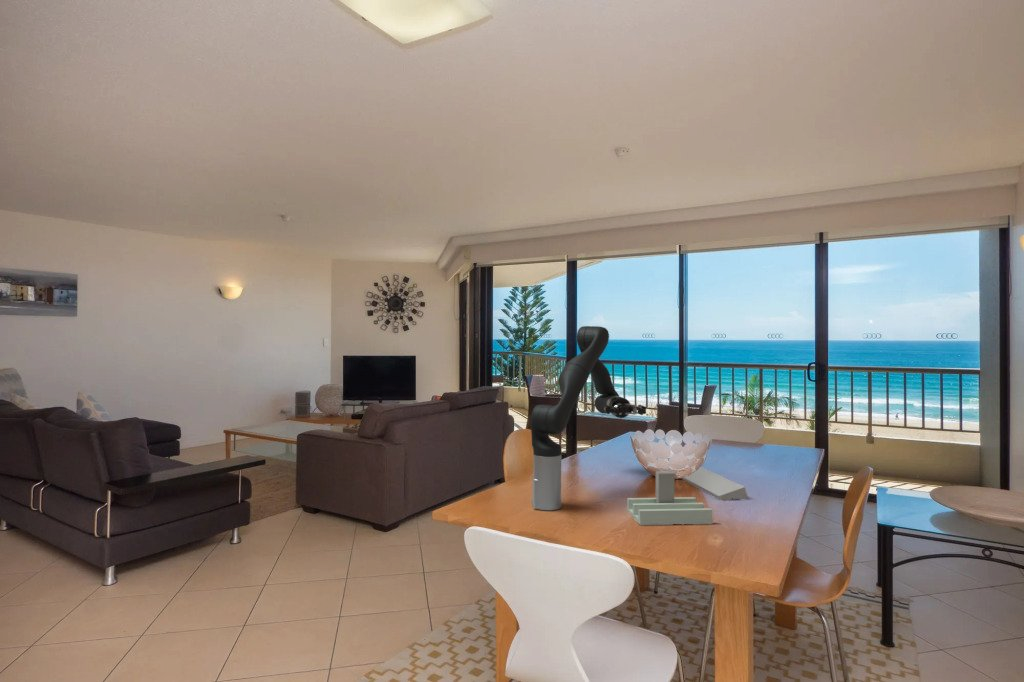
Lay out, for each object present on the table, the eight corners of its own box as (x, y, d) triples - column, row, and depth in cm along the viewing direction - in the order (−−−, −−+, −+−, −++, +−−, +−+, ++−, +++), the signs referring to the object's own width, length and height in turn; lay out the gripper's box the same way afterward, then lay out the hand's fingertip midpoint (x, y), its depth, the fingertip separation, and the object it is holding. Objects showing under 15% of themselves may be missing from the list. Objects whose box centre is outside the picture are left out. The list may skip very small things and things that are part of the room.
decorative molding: (722, 509, 190) (748, 500, 191) (719, 496, 190) (744, 487, 191) (677, 484, 224) (700, 476, 225) (674, 472, 223) (697, 465, 225)
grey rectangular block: (658, 512, 173) (658, 473, 173) (655, 509, 176) (655, 471, 176) (674, 511, 173) (674, 473, 173) (670, 508, 176) (671, 471, 176)
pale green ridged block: (640, 525, 164) (640, 511, 164) (627, 511, 177) (627, 497, 177) (712, 524, 165) (712, 510, 165) (693, 510, 179) (694, 497, 179)
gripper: (599, 396, 208) (610, 401, 191) (636, 396, 209) (650, 401, 192) (599, 416, 208) (610, 422, 191) (636, 416, 209) (650, 422, 192)
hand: (630, 411), depth 192 cm, fingers open, 8 cm apart
